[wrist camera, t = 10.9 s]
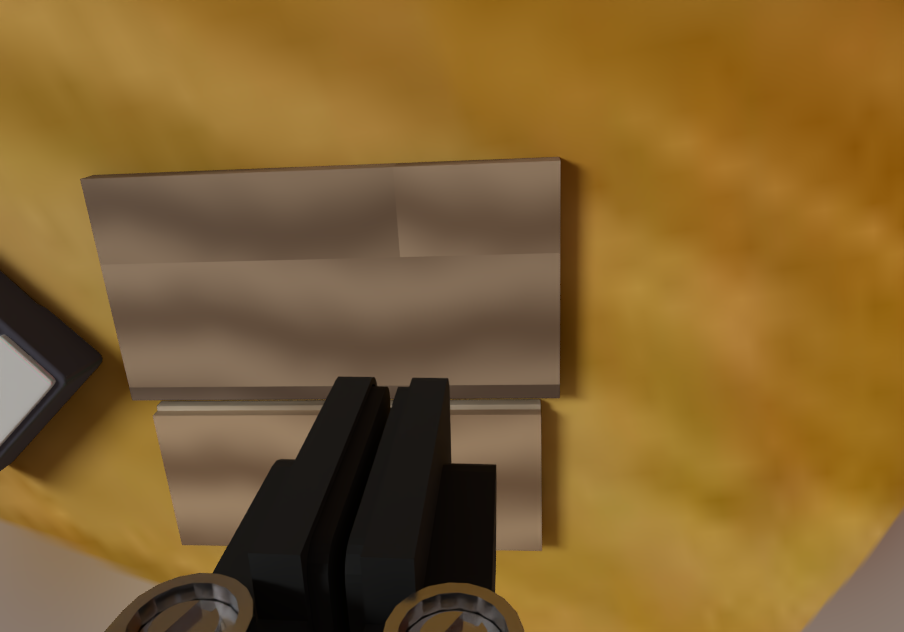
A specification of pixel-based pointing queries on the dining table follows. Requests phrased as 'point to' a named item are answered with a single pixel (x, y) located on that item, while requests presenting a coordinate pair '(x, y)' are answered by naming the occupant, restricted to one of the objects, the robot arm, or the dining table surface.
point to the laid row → (334, 278)
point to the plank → (282, 435)
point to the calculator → (35, 368)
